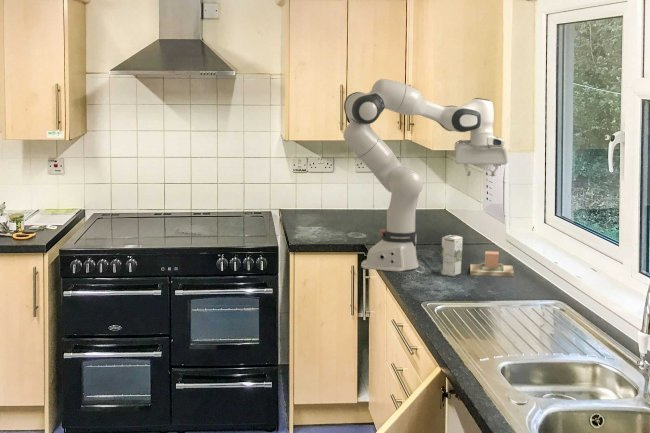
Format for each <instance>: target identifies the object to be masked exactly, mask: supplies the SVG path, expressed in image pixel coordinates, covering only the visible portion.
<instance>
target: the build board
mask: <svg viewBox="0 0 650 433" xmlns="http://www.w3.org/2000/svg"><path fill="white" fill-rule="evenodd" d="M469 271H470V272H469V275H470V276H485V277H486V276H489V277H512V278H513V277H514V272H515V271H514V266H513V265H509V264H508V265H504V263H499V265H498V268H485V262H480V263H479V264H478V263H477V264H475V263H470V268H469Z"/></svg>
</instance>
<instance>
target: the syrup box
mask: <svg viewBox="0 0 650 433" xmlns="http://www.w3.org/2000/svg"><path fill="white" fill-rule="evenodd" d="M463 238H464V237H463V236H460V235H455V234H449V235H445V236H442V238H441V253H440V254H441V255H440V256H441V258H440V260H441V261H440V274H441V275H442V276H443V275H444V276H449V277H455V276H458V275H461V274H462V265H463V264H462V263H463V261H462V260H463Z"/></svg>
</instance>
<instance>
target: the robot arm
mask: <svg viewBox="0 0 650 433" xmlns="http://www.w3.org/2000/svg"><path fill="white" fill-rule="evenodd" d="M343 109H344V114H345V118H346V122H347V123H348V125H347V126H346V127H345V129H344V131H343V135H342V137H343V139H344V141H345V143H346V144H347V146H348V147H349V148H350V150H351V151H352V152H353V153H354V154H355V156H356V157H357V158H358V159H359V160H360V161H361V162H362V164H364V165H365V166H366V167H367V168H368V170H370V172H371V173H373V175H374V176H375V178H376V179H377V180H378V182H379V183H380V184H381V185H382V186H383V187H384V188H385V189H386V190H387V191H388V192H389V193H391V196H390V201H389V206H388V208H387V210H386V229H382V230H381V233H380V234H381V238H380V239H381V240H379V241H378V242H377V243H376V244H375V245H373V246H371V247H370V249H368V252H367V255H366V259H364V260H363V261H361V264H360V267H361V268H362V269H365V270H376V271H386V272H387V271H388V272H390V271H391V272H403V271H410V270H415V269H418V268H419V267H420V264H419V261H418V258H417V257H418V256H417V249H416V246H417V231H416V212H417V205H418V203H419V202H418V201H419V196H420V193H421V192H422V190H423V186H424V182H423V179H422V177H421V176H420V174H418V173H417V171H415V170H413V169H410V168H409V167H408V168H407V167H406V166H404V164H402V163H401V162H400V161H399V159H398V158H397V156H396V155H395V153H394V151H393V150H392V149H391V147H390V146H388V145H387V144H386V142H385V141H384V140H383V139H382V138H381V137H380V136H379V135H378V134H377V133H376V132H375V131H374V130H373V128H372V127H371V124H372V123H374V122H375V121H376V122H377V120H378V119H379V117H380V116H381V114H382V113H383V111H384V110H389V111H392V112H394V113H397V114H402V115H405V116H422V117H424V118H427V119H429V120H432V121H435V122H437V123H438V124H439V125H440V126H441V127H442V128H443V129H444V130H445V131H448V132H456V133H457V132H458V133H467V132H469V133H470V134H469V135H470V136H469V137H470V138H469V139H468V140H467V139H463V140H462V139H460V140H457V141H456V142H455V143H454V151H455V156H454V162H455V164H457V165H463V168H464V170H465V171H466V176H467V177H469V176H470V177H471V173H472V172H471V170H469V169H468V167H469V165H494V170H492V171H491V172H490V173H491V175H490V176H491V177H496V172H497V170H498V168H499V165H505V166H506V165H507V164H508V162H509V161H508V159H509V158H508V151H507V148H506V146H505V144H506V140H505V139H504V138H500V137H498V136H494V132H495V131H494V129H493V128H494V123H495V122H494V121H495V113H494V112H495V110H494V103H493V101H491V100H490V99H486V98H481V97H480V98H479V97H474V98H473V99H472V100H471V101H469V102H467V103H464V104H463V105H461V106H457V105H446V106H445V105H439V104H437V103H435V102H432V101H429V100H427V99H425V98H424V97H423V95H422V93H421V91H420V90H418V89H417V88H415V87H413V86H410V85H408V84H405V83H403V82H400V81H397V80H391V79H386V78H380V79H378V80H376V81H375V82H374V83H373V86H372V87H371V90H370V91H369V92H368V93H367V92H366V93H365V92H361V91H356V92H355V91H354V92H352V93H351V94H349V95H348V96H347V97H346V98H345V100H344V104H343Z"/></svg>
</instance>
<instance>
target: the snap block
mask: <svg viewBox="0 0 650 433" xmlns="http://www.w3.org/2000/svg"><path fill="white" fill-rule="evenodd" d="M499 258H500V253H499V251H493V250H491V251H489V250H488V251H486V250H485V252H484V263H485V268H498V265H499V264H500V262H499V260H500V259H499Z"/></svg>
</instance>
